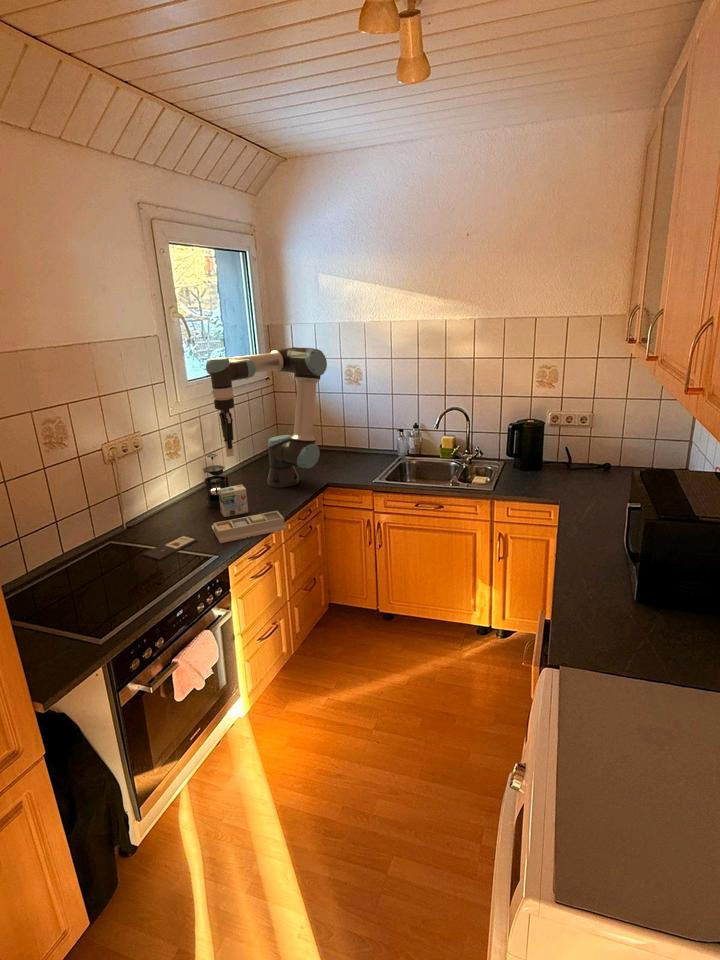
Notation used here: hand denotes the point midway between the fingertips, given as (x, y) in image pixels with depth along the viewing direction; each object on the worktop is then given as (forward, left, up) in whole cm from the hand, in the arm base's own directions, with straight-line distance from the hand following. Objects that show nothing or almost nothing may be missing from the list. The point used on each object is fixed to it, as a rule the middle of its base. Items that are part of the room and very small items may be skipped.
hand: (230, 455), depth 227 cm
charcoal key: (-11, +17, -24) cm, 32 cm away
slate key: (+2, +17, -24) cm, 30 cm away
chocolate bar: (+29, +19, -27) cm, 44 cm away
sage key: (-4, +17, -23) cm, 29 cm away
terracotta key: (+9, +17, -24) cm, 31 cm away
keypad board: (-1, +16, -26) cm, 31 cm away
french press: (+4, -17, -26) cm, 32 cm away
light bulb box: (0, -4, -26) cm, 27 cm away
